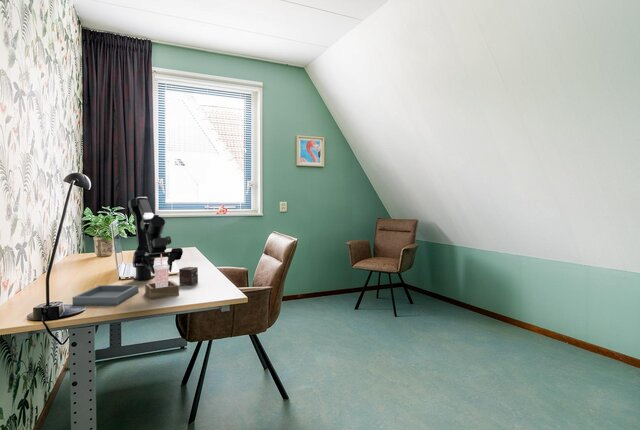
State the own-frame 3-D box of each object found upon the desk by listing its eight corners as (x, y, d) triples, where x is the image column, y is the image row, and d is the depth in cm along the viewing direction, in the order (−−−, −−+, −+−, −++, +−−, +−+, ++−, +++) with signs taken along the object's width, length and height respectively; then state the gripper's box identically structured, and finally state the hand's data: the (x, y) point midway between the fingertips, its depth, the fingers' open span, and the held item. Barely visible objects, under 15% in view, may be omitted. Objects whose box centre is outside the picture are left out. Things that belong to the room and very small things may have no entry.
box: (191, 286, 171) (191, 269, 171) (179, 285, 173) (178, 269, 172) (198, 282, 177) (198, 267, 177) (186, 282, 179) (186, 266, 178)
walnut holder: (145, 293, 159) (145, 284, 158) (171, 289, 165) (171, 280, 164) (151, 299, 150) (151, 289, 150) (178, 295, 156) (178, 285, 156)
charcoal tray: (99, 292, 160) (99, 285, 160) (138, 292, 160) (138, 285, 160) (72, 305, 142) (72, 297, 142) (116, 305, 142) (116, 297, 142)
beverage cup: (162, 285, 161) (161, 252, 160) (173, 287, 159) (172, 253, 158) (150, 288, 156) (149, 254, 155) (161, 290, 153) (160, 255, 152)
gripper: (133, 231, 153) (140, 263, 145) (181, 228, 164) (190, 258, 156) (130, 248, 160) (136, 279, 152) (176, 244, 171) (184, 273, 163)
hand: (162, 272), depth 156 cm, fingers closed on beverage cup, 6 cm apart
